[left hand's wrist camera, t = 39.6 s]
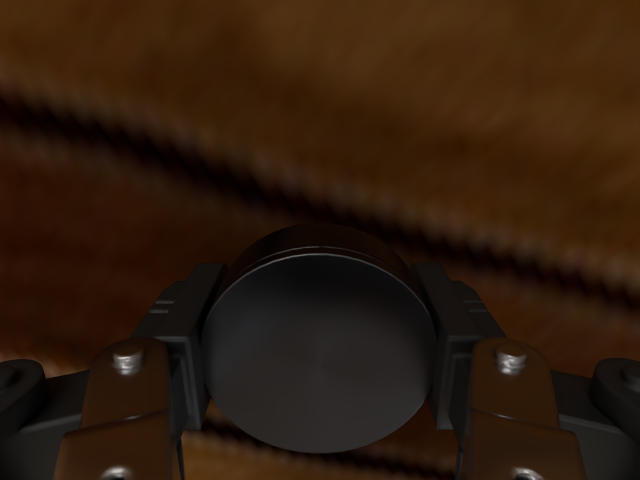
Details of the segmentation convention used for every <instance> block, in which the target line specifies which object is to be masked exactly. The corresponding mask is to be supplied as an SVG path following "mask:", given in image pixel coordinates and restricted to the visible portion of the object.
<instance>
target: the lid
mask: <svg viewBox="0 0 640 480" xmlns="http://www.w3.org/2000/svg"><path fill="white" fill-rule="evenodd" d="M437 343H438V337H437V332H436V328H435V325H434V323H433V320H432V317H431V315H430V313H429V310H428V308H427V306H426V304H425V301H424V299H423V297H422V295H421V293H420V290H419V288H418V286H417V284H416V281H415V279H414V277H413V275H412V274H411V272H410V270H409V268H408V267H407V266H406V264H405V263H404V262H403V260H402V259H401V258H400V257H399V256H398V255H397V254H396V253H395V252H394V251H393V250H392V249H391V248H390V247H388V246H387V245H386V244H384V243H383V242H381V241H380V240H379V239H377V238H375V237H373V236H371V235H369V234H367V233H365V232H362V231H360V230H357V229H354V228H351V227H347V226H343V225H337V224H328V223H309V224H301V225H295V226H291V227H287V228H284V229H281V230H278V231H276V232H273V233H271V234H269V235H267V236H265V237H263V238H261V239H260V240H258V241H256V242H255V243H254V244H252V245H251V246H250V247H248V248H247V249H246V250H245V251H244V252H243V253H242V254H241V255H240V256H239V257H238V258H237V259H236V260H235V262H234V263H233V264H232V266H231V267H230V268H229V270H228V272H227V274H226V276H225V277H224V279H223V281H222V284H221V286H220V288H219V290H218V293H217V295H216V297H215V299H214V301H213V304H212V306H211V308H210V310H209V313H208V315H207V317H206V320H205V322H204V325H203V328H202V331H201V336H200V352H201V360H202V369H203V377H204V384H205V386H206V388H207V390H208V392H209V395H210V396H211V398H212V399H213V401H214V403H215V404H216V406H217V407H218V408H219V409H220V410H221V412H222V413H223V414H224V415H225V416H226V417H227V418H228V419H229V420H230V421H231V422H232V423H233V424H235V425H236V426H237V427H238V428H240V429H241V430H243V431H244V432H245V433H247V434H249V435H251V436H252V437H254V438H256V439H258V440H260V441H262V442H265V443H267V444H269V445H272V446H275V447H279V448H282V449H285V450H291V451H296V452H304V453H334V452H342V451H347V450H352V449H356V448H359V447H362V446H366V445H369V444H371V443H373V442H375V441H378V440H380V439H382V438H384V437H386V436H387V435H389V434H391V433H392V432H394V431H395V430H397V429H398V428H399V427H401V426H402V425H403V424H405V423H406V422H407V421H408V420H409V419H410V418H411V417H412V416H413V415H414V414H415V413H416V412H417V410H418V409H419V408H420V407H421V405H422V404H423V402H424V401H425V399H426V398H427V396H428V394H429V392H430V390H431V388H432V386H433V379H434V370H435V361H436V353H437Z"/></svg>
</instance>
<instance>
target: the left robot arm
mask: <svg viewBox="0 0 640 480" xmlns="http://www.w3.org/2000/svg"><path fill="white" fill-rule="evenodd" d="M227 272H228V267H227V264H226V263H198V264H197V265H196V267H195V268H194V270H193V272H192V273H191V275H190V276H189V278H188V280H187V281H177V282H175V283H174V284H172V285H171V286H169V287H168V288H166V289H165V290H163V291H162V293H161V294H160V296H159V297H158V298H157V300H156V301H155V304H153V306H152V307H151V309H150V310H149V313H147V314H146V316H145V317H144V319H143V320H142V321H141V323H140V324H139V326H138V327H137V329H136V330H135V332H134V333H133V334H132V336H131V337H130V338H129V339H125V340H122V341H119V342H116V343H114V344H112V345H110V346H108V347H106V348H105V349H103V350H102V351H101V352H99V353H98V354H97V355H96V356H95V358H94V359H93V361H92V363H91V367H90V369H89V370H85V371H82V372H77V373H73V374H68V375H63V376H58V377H53V378H48V379H46V377H45V374H44V370H43V367H42V365H41V364H40V363H38V362H36V361H33V360H28V359H16V360H9V361H4V362H1V363H0V480H186V479H185V468H184V457H183V449H182V442H181V436H182V433H183V430H200V429H201V426H202V423H203V420H204V417H205V414H206V411H207V408H208V405H209V402H210V399H211V396H210V395H209V392H208V390H207V388H206V386H205V384H204V377H203V369H202V360H201V352H200V336H201V331H202V328H203V325H204V322H205V320H206V317H207V315H208V313H209V310H210V308H211V306H212V304H213V301H214V299H215V297H216V295H217V293H218V290H219V288H220V286H221V284H222V281H223V279H224V277H225V276H226V274H227ZM410 272H411V274H412V275H413V277H414V279H415V281H416V284H417V286H418V288H419V290H420V293H421V295H422V297H423V299H424V301H425V304H426V306H427V308H428V310H429V313H430V315H431V317H432V320H433V323H434V325H435V328H436V332H437V337H438V343H437V353H436V361H435V370H434V379H433V386H432V388H431V390H430V392H429V394H428V396H427V400H428V404H429V407H430V410H431V413H432V416H433V419H434V422H435V426H436V429H453V430H454V433H455V436H456V438H457V441H458V449H457V457H456V468H455V479H454V480H640V362H638V361H635V360H630V359H624V358H608V359H604V360H602V361H600V362H598V363H597V365H596V367H595V370H594V374H593V377H592V378H587V377H582V376H577V375H572V374H567V373H562V372H558V371H553V370H550V367H549V363H548V361H547V359H546V358H545V356H544V355H543V354H542V353H541V352H539V351H538V350H537V349H535V348H534V347H532V346H530V345H528V344H526V343H524V342H521V341H518V340H515V339H511V338H507V337H506V336H505V334H504V333H503V331H502V330H501V328H500V327H499V325H498V324H497V322H496V321H495V320H494V318H493V317H492V315H491V314H490V313H488V309H487V308H486V306H485V305H484V303H482V300H481V299H480V298H479V296H478V295H477V293H476V292H475V290H473V289H472V288H470V287H469V286H467V285H466V284H464V283H463V282H461V281H451V280H450V279H449V277H448V275H447V274H446V272H445V270H444V269H443V267H442V266H441V264H440V263H412V264H411V266H410Z"/></svg>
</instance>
